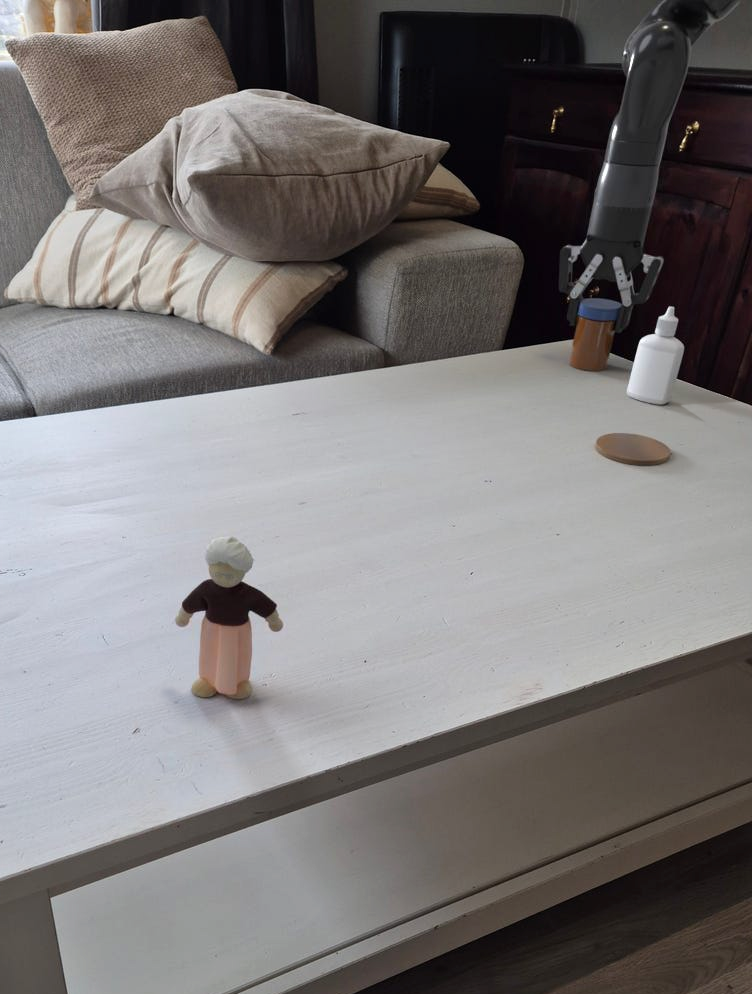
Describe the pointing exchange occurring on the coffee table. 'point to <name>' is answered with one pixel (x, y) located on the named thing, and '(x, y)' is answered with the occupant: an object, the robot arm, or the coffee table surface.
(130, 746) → the coffee table surface
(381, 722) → the coffee table surface
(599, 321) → the jar
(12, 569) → the coffee table surface
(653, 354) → the eye dropper bottle
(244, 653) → the grandmother figurine
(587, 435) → the coffee table surface
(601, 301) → the lid
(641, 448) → the coaster
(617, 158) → the robot arm
